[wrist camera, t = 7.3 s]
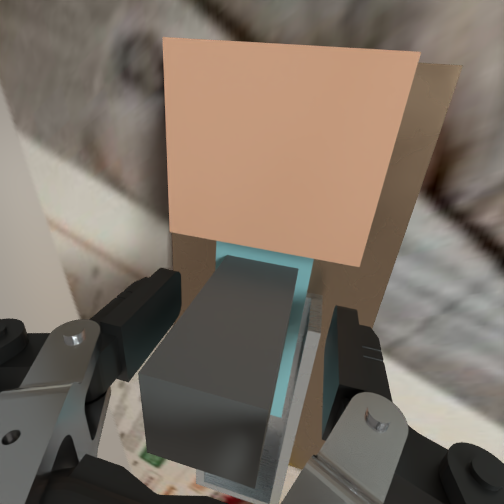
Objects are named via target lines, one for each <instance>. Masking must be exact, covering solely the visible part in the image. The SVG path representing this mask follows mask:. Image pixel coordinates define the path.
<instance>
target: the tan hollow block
mask: <svg viewBox="0 0 504 504" xmlns="http://www.w3.org/2000/svg"><path fill="white" fill-rule="evenodd" d="M420 54H421V52H412V51H395V50H377V49H360V48H343V47H325V46H308V45H290V44H273V43H256V42H238V41H221V40H203V39H186V38H169V37H163V62H164V89H165V116H166V144H167V171H168V198H169V225H170V232H173V233H178V234H183V235H189V236H194V237H200V238H205V239H210V240H216V241H221V242H226V243H232V244H237V245H243V246H248V247H253V248H259V249H264V250H269V251H275V252H280V253H286V254H291V255H296V256H302V257H307V258H312V259H318V260H323V261H329V262H334V263H339V264H345V265H350V266H355V267H360V264H361V260H362V257H363V253H364V250H365V246H366V243H367V239H368V236H369V232H370V229H371V225H372V222H373V218H374V215H375V211H376V208H377V204H378V201H379V197H380V194H381V190H382V187H383V183H384V180H385V176H386V173H387V169H388V166H389V162H390V159H391V155H392V152H393V148H394V145H395V141H396V138H397V134H398V131H399V127H400V124H401V120H402V117H403V113H404V110H405V106H406V103H407V99H408V96H409V92H410V89H411V85H412V82H413V79H414V75H415V72H416V68H417V65H418V61H419V58H420Z"/></svg>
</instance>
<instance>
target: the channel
mask: <svg viewBox="0 0 504 504" xmlns="http://www.w3.org/2000/svg"><path fill="white" fill-rule="evenodd" d="M461 69H462V65H446V64H431V63H418V65H417V68H416V72H415V75H414V79H413V82H412V85H411V89H410V92H409V96H408V99H407V103H406V106H405V110H404V113H403V117H402V120H401V124H400V127H399V131H398V134H397V138H396V141H395V145H394V148H393V152H392V155H391V159H390V162H389V166H388V169H387V173H386V176H385V180H384V183H383V187H382V190H381V194H380V197H379V201H378V204H377V208H376V211H375V215H374V218H373V222H372V225H371V229H370V232H369V236H368V239H367V243H366V246H365V250H364V253H363V257H362V260H361V264H360V267H355V266H350V265H345V264H339V263H334V262H329V261H323V260H318V259H314V260H313V265H312V270H311V275H310V280H309V285H308V290H307V294H306V299H305V304H304V309H303V314H302V319H301V324H300V329H299V333H298V338H297V343H296V348H295V353H294V358H293V363H292V368H291V372H290V377H289V382H288V387H287V392H286V397H285V402H284V407H283V411H282V416H281V418H280V417H276V416H273V415H270V418H269V423H268V428H267V433H266V438H265V442H264V447H263V452H262V457H261V462H260V467H259V472H258V477H257V482H256V486H255V489H254V488H251V487H248V486H245V485H242V484H240V483H237V482H234V481H231V480H228V479H225V478H222V477H219V476H216V475H213V474H210V473H207V472H204V471H201V470H198V469H196V484H199V485H202V486H204V487H207V488H210V489H213V490H216V491H219V492H222V493H225V494H228V495H230V496H233V497H236V498H239V499H242V500H245V501H248V502H251V503H254V504H279V500H280V496H281V492H282V488H283V484H284V480H285V476H286V472H287V468H288V465H290V466H293V467H296V468H300V469H303V468H304V466H305V465H306V463H307V462H308V461H309V459H310V458H311V457H312V456H313V455H317V454H318V452H319V451H320V449H321V448H322V446H323V445H324V443H325V441H324V440H322V409H323V375H324V350H325V343H326V338H327V334H328V331H329V327H330V323H331V319H332V315H333V311H334V308H335V306H336V305H338V306H342V307H347V308H352V309H356V310H357V312H358V319H359V325H364V326H368V327H371V329H372V328H373V325H374V322H375V319H376V316H377V313H378V310H379V307H380V304H381V302H382V299H383V296H384V293H385V290H386V287H387V284H388V281H389V278H390V275H391V273H392V270H393V267H394V264H395V261H396V258H397V255H398V252H399V249H400V246H401V243H402V241H403V238H404V235H405V232H406V229H407V226H408V223H409V220H410V217H411V214H412V212H413V209H414V206H415V203H416V200H417V197H418V194H419V191H420V188H421V185H422V183H423V180H424V177H425V174H426V171H427V168H428V165H429V162H430V159H431V156H432V153H433V151H434V148H435V145H436V142H437V139H438V136H439V133H440V130H441V127H442V124H443V122H444V119H445V116H446V113H447V110H448V107H449V104H450V101H451V98H452V95H453V92H454V90H455V87H456V84H457V81H458V78H459V75H460V72H461ZM172 252H173V270H174V271H178V272H180V274H181V292H182V306H181V311H180V314H179V316H178V318H177V319H176V321H175V324H176V322H177V321H178V320H179V318H180V317H181V316H182V314H183V313H184V312H185V310H186V309H187V308H188V306H189V305H190V304H191V302H192V301H193V300H194V298H195V297H196V296H197V294H198V293H199V292H200V290H201V289H202V288H203V286H204V285H205V284H206V282H207V281H208V280H209V278H210V277H211V276H212V275H213V273H214V272H215V265H216V240H210V239H205V238H200V237H194V236H189V235H183V234H178V233H173V232H172Z"/></svg>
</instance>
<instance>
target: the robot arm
mask: <svg viewBox="0 0 504 504" xmlns="http://www.w3.org/2000/svg"><path fill="white" fill-rule="evenodd" d="M181 306H182V292H181V274H180V272H178V271H174V270H169V269H164V268H160V269H159V270H157V271H156V272H155V273H154V274H153V275H152V276H151V277H149V278H147V277H145V278H143V279H141V280H138V281H136V282H134V283H132V284H131V285H130V286H129V287H128V288H127V289H125V291H124V292H122V293H121V294H119V295H118V296H117V298H115V299H113V300H112V301H111V302H110V303H109V304H107V305H106V306H105V307H104V308H103V309H101V310H100V311H99V312H98V313H97V314H95V315H94V316H93V317H92V318H91V319H90V320H86V319H81V320H74V321H70V322H67V323H65V324H63V325H61V326H59V327H57V328H56V329H55V330H53V331H52V332H51V333H27V332H26V329H25V326H24V324H23V322H22V321H20V320H17V319H0V504H228V503H225V502H222V501H219V500H216V499H213V498H211V497H208V496H178V495H159V494H156V493H154V492H153V491H152V490H151V489H149V488H148V487H147V486H146V485H145V484H143V483H142V482H141V481H140V480H138V479H137V478H136V477H135V476H134V475H132V474H131V473H130V472H129V471H128V470H126V469H125V468H124V467H122V466H120V465H117V464H114V463H111V462H108V461H105V460H103V459H100V458H97V451H98V445H99V441H100V437H101V433H102V428H103V424H104V420H105V416H106V411H107V408H108V403H109V399H110V395H111V387H110V386H111V384H112V383H113V382H114V381H115V379H119V380H123V381H126V382H129V381H130V380H131V378H132V377H133V376H134V374H135V373H136V372H137V370H138V369H139V368H140V367H141V365H142V364H143V363H144V361H145V360H146V359H147V357H148V356H149V355H150V353H151V352H152V351H153V349H154V348H155V347H156V346H157V344H158V343H159V342H160V340H161V339H162V338H163V336H164V335H165V334H166V332H167V331H168V330H169V329H170V327H171V326H172V325H173V323H174V322H175V321H176V319H177V318H178V316H179V314H180V311H181ZM322 440H324V441H325V443H324V445H323V446H322V448H321V449H320V451H319V452H318V454H317V455H313V456H312V457H311V458H310V459H309V461H308V462H307V463H306V465H305V466H304V468H303V470H302V471H301V473H300V474H299V476H298V477H297V479H296V481H295V482H294V484H293V485H292V487H291V489H290V490H289V492H288V493H287V495H286V496H285V498H284V500H283V501H282V503H281V504H504V464H503V463H502V462H501V461H500V460H499V459H498V458H496V457H495V456H494V455H492V454H491V453H489V452H488V451H486V450H484V449H482V448H480V447H478V446H476V445H473V444H469V443H462V442H461V443H456V444H453V445H452V446H451V447H450V448H449V450H448V449H446V448H444V447H442V446H440V445H439V444H437V443H435V442H433V441H431V440H429V439H428V438H426V437H424V436H422V435H421V434H419V433H417V432H416V431H415V430H413V429H412V428H411V427H410V426H409V425H408V424H407V421H406V418H405V417H404V415H403V413H402V412H401V411H400V409H399V408H398V407H397V406H396V405H395V404H394V403H393V402H392V398H391V393H390V389H389V384H388V379H387V375H386V370H385V365H384V362H383V356H382V352H381V347H380V342H379V338H378V337H377V335H376V334H375V333H374V331H373V330H372V329H371V327H368V326H364V325H359V319H358V312H357V310H356V309H352V308H347V307H342V306H338V305H336V306H335V308H334V311H333V315H332V319H331V323H330V327H329V331H328V334H327V338H326V343H325V350H324V375H323V409H322Z"/></svg>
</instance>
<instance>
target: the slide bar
mask: <svg viewBox="0 0 504 504" xmlns="http://www.w3.org/2000/svg"><path fill="white" fill-rule="evenodd" d="M313 260H314V259H312V258H307V257H302V256H296V255H291V254H286V253H280V252H275V251H269V250H264V249H259V248H253V247H248V246H243V245H237V244H232V243H226V242H221V241H216V265H215V272H214V273H213V275H212V276H211V277H210V278H209V280H208V281H207V282H206V284H205V285H204V286H203V288H202V289H201V290H200V292H199V293H198V294H197V296H196V297H195V298H194V300H193V301H192V302H191V304H190V305H189V306H188V308H187V309H186V310H185V312H184V313H183V314H182V316H181V317H180V318H179V320H178V321H177V322H176V324H175V325H174V326H173V328H172V329H171V330H170V332H169V333H168V334H167V336H166V337H165V338H164V340H163V341H162V342H161V344H160V345H159V346H158V348H157V349H156V350H155V352H154V353H153V354H152V356H151V357H150V358H149V359H148V361H147V362H146V363H145V365H144V366H143V367H142V369H141V370H140V371H139V373H138V375H139V384H140V393H141V401H142V410H143V419H144V428H145V437H146V446H147V453H150V454H153V455H156V456H159V457H162V458H165V459H168V460H171V461H174V462H177V463H180V464H183V465H186V466H189V467H192V468H195V469H198V470H201V471H204V472H207V473H210V474H213V475H216V476H219V477H222V478H225V479H228V480H231V481H234V482H237V483H240V484H242V485H245V486H248V487H251V488H254V489H255V486H256V482H257V477H258V472H259V467H260V462H261V457H262V452H263V447H264V442H265V438H266V433H267V428H268V423H269V418H270V415H273V416H276V417H280V418H281V416H282V411H283V407H284V402H285V397H286V392H287V387H288V382H289V377H290V372H291V368H292V363H293V358H294V353H295V348H296V343H297V338H298V333H299V329H300V324H301V319H302V314H303V309H304V304H305V299H306V294H307V290H308V285H309V280H310V275H311V270H312V265H313Z"/></svg>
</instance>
